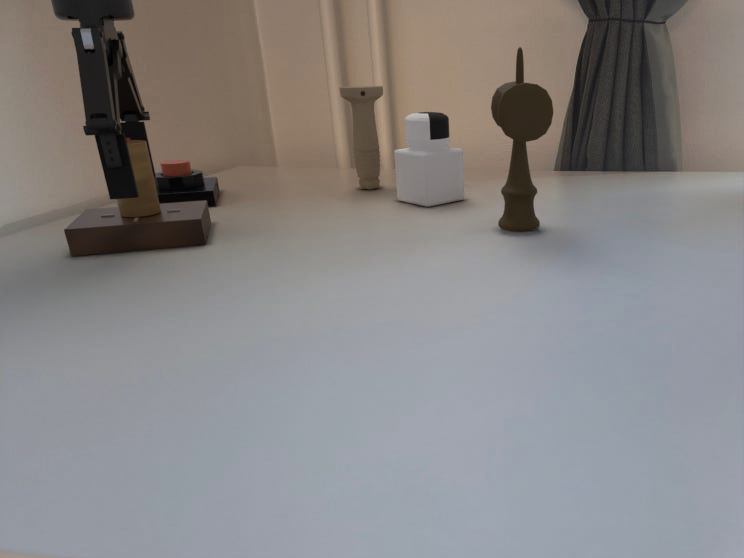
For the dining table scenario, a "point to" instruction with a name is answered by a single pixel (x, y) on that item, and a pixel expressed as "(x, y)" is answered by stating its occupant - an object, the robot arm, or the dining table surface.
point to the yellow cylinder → (140, 183)
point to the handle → (365, 133)
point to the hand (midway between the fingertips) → (135, 187)
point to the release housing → (187, 188)
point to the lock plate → (138, 229)
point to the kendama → (520, 144)
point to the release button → (176, 167)
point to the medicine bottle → (429, 162)
